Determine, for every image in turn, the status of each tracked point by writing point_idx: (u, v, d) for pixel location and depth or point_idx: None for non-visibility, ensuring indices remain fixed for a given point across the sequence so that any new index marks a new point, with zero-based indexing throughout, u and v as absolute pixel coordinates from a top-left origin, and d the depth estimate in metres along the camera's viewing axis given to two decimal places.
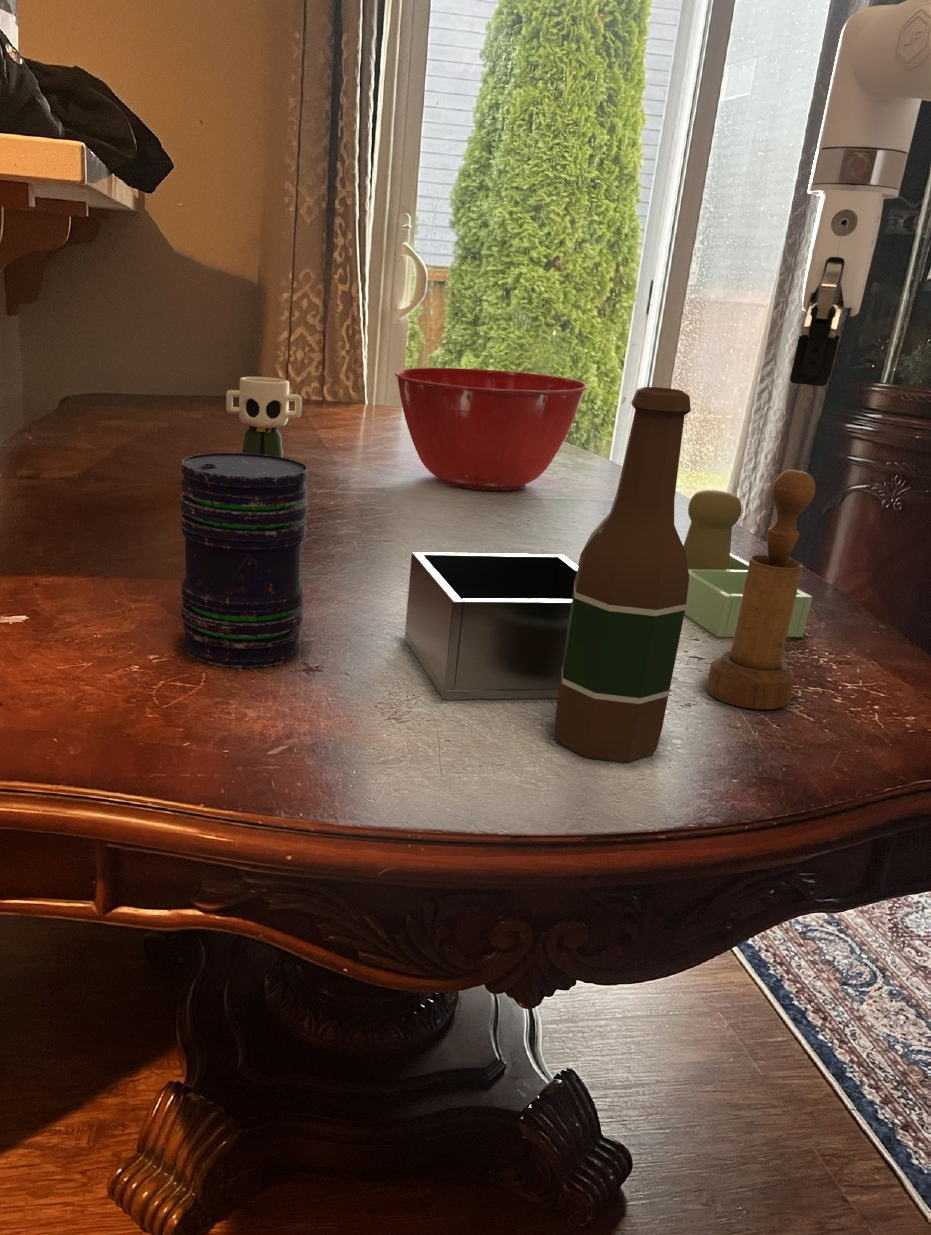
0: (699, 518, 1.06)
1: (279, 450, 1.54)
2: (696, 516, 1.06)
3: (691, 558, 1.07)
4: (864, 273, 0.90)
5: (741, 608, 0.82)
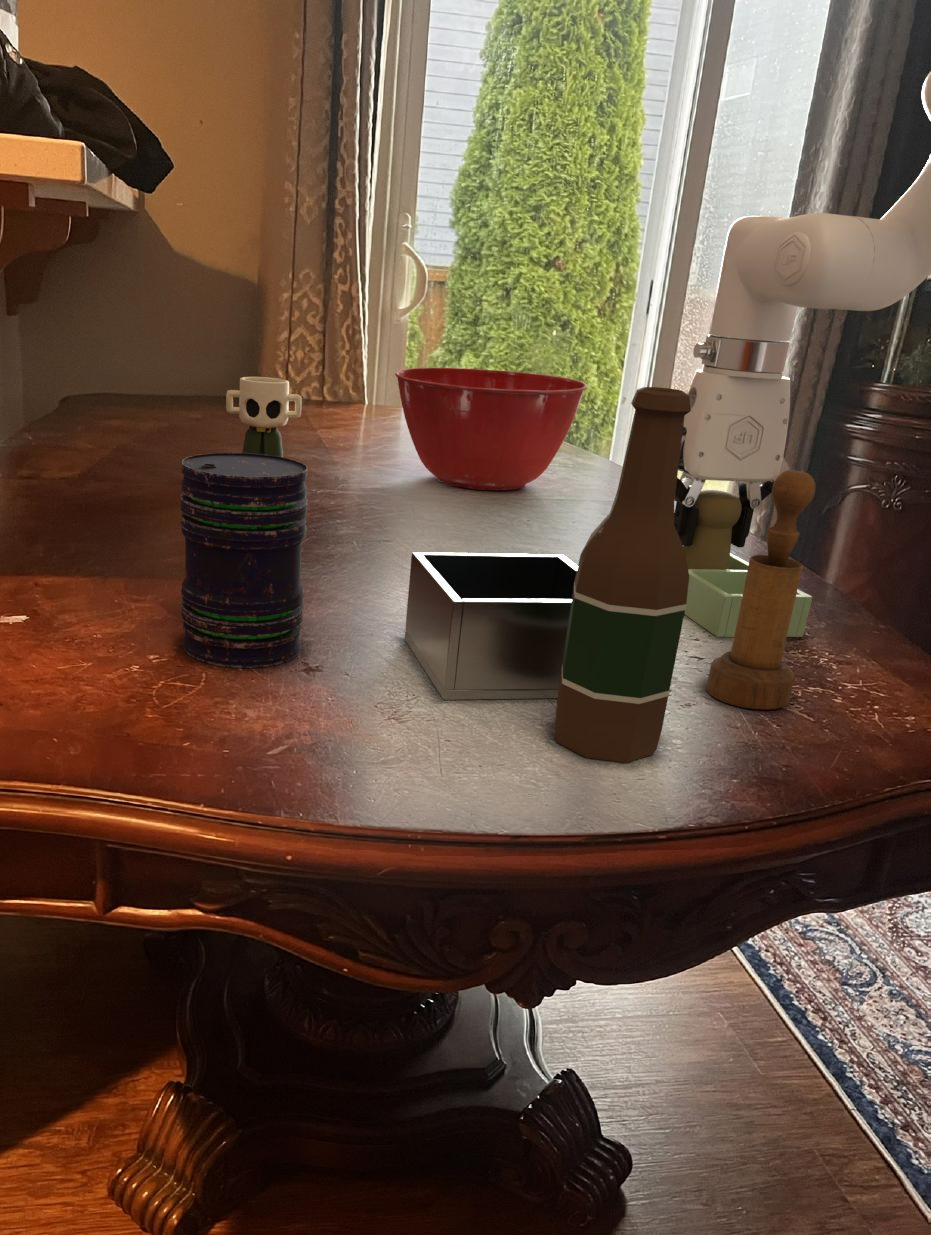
0: (699, 518, 1.06)
1: (279, 450, 1.54)
2: None
3: (691, 558, 1.07)
4: (697, 442, 1.01)
5: (741, 608, 0.82)
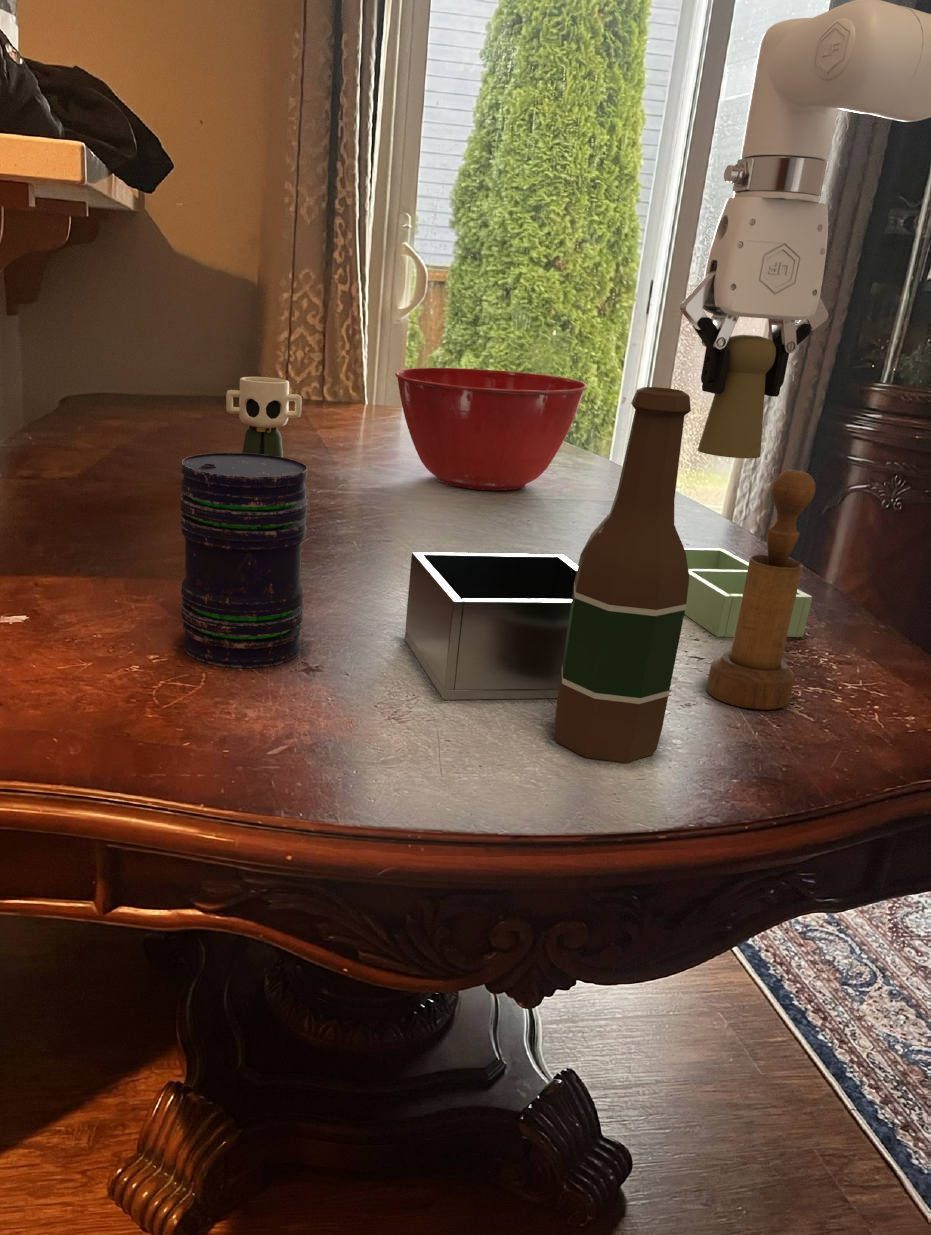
0: (731, 363, 0.99)
1: (279, 450, 1.54)
2: None
3: (722, 408, 1.01)
4: (729, 273, 0.94)
5: (741, 608, 0.82)
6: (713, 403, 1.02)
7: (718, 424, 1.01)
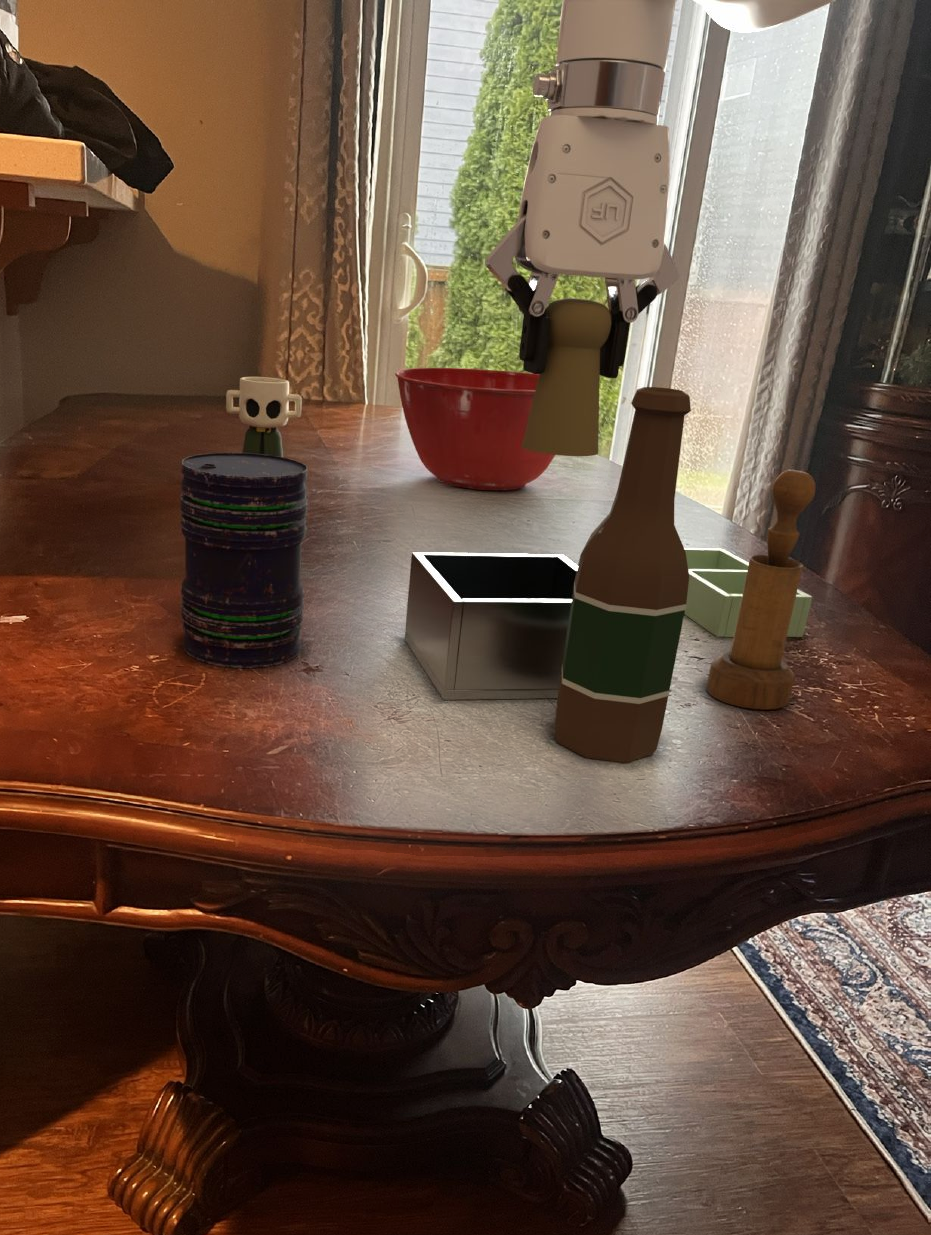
0: (553, 334, 0.78)
1: (279, 450, 1.54)
2: None
3: (545, 392, 0.79)
4: (540, 217, 0.73)
5: (741, 608, 0.82)
6: (536, 386, 0.81)
7: (541, 413, 0.80)
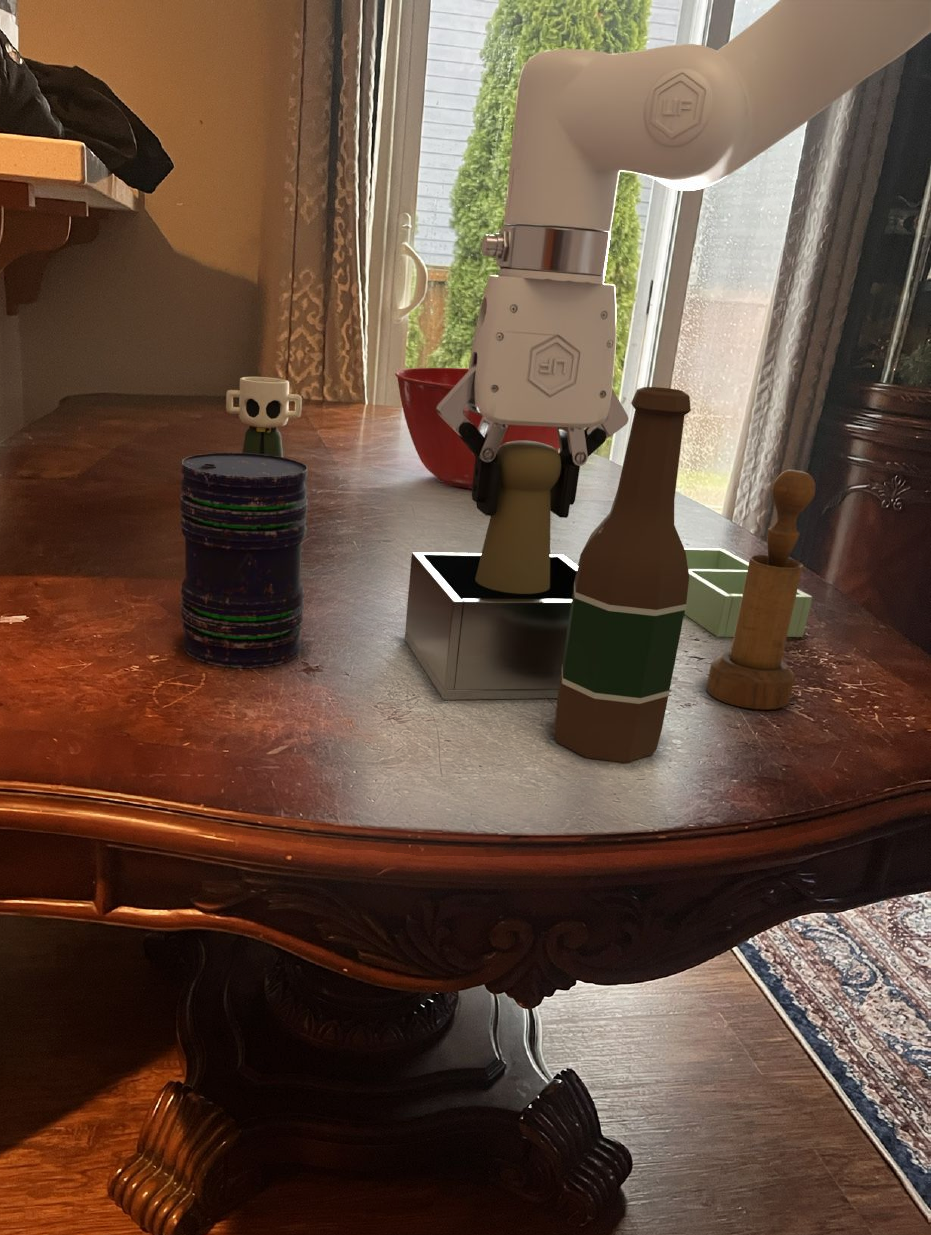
0: (503, 478, 0.79)
1: (279, 450, 1.54)
2: None
3: (497, 531, 0.81)
4: (489, 372, 0.74)
5: (741, 608, 0.82)
6: (489, 523, 0.82)
7: (493, 551, 0.81)
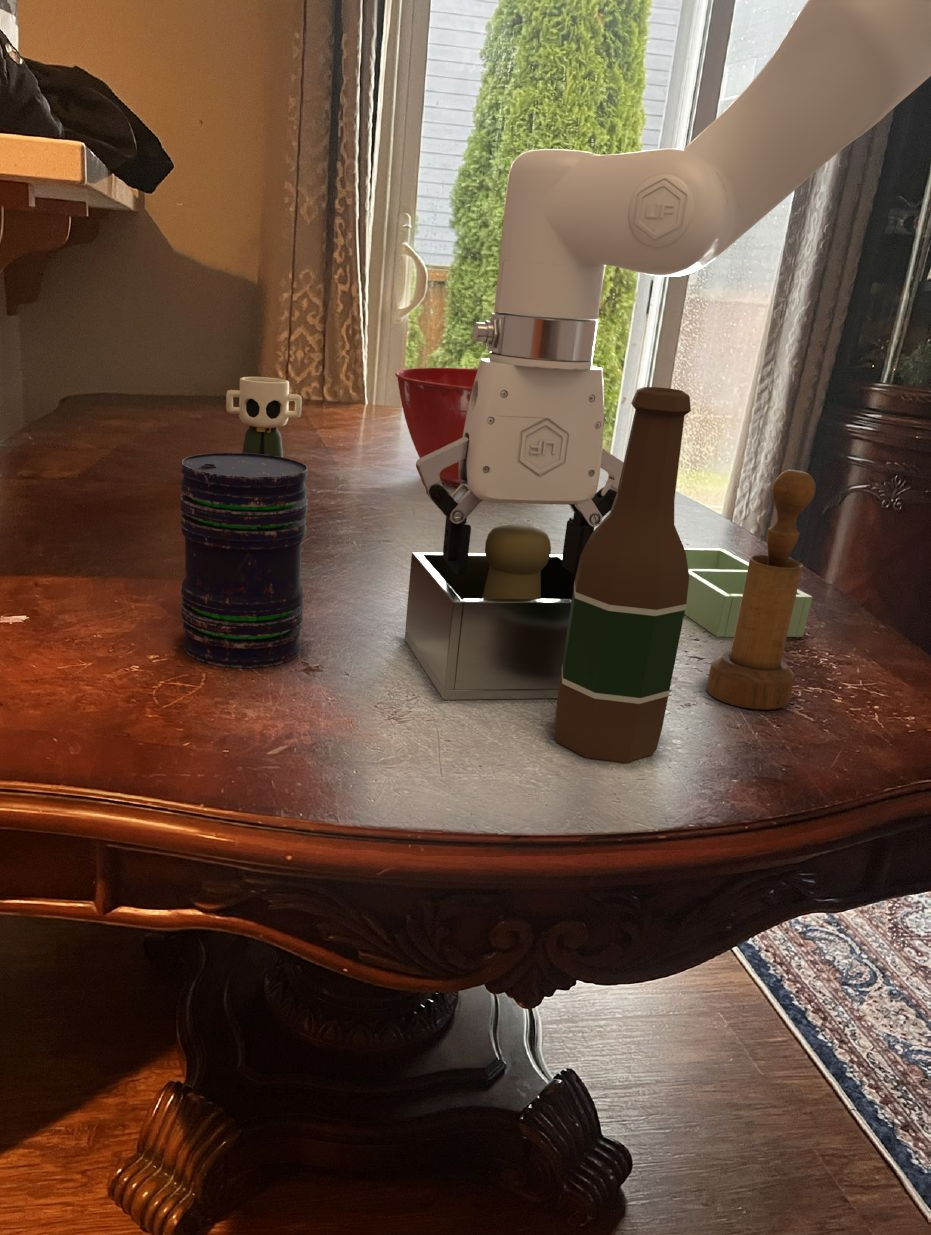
0: (495, 561, 0.82)
1: (279, 450, 1.54)
2: (491, 557, 0.82)
3: None
4: (480, 454, 0.76)
5: (741, 608, 0.82)
6: None
7: None
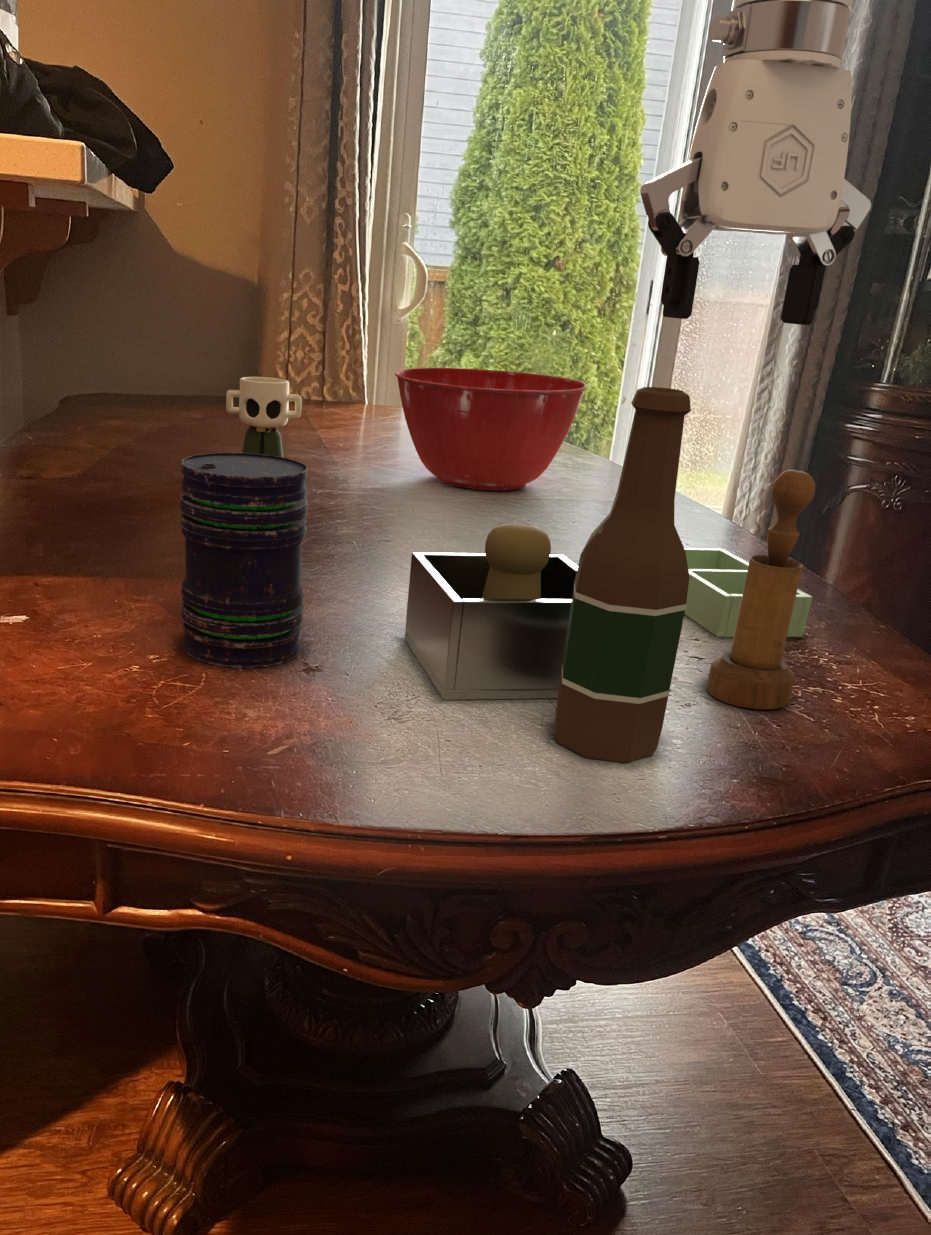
0: (495, 561, 0.82)
1: (279, 450, 1.54)
2: (491, 557, 0.82)
3: None
4: (719, 167, 0.70)
5: (741, 608, 0.82)
6: None
7: None
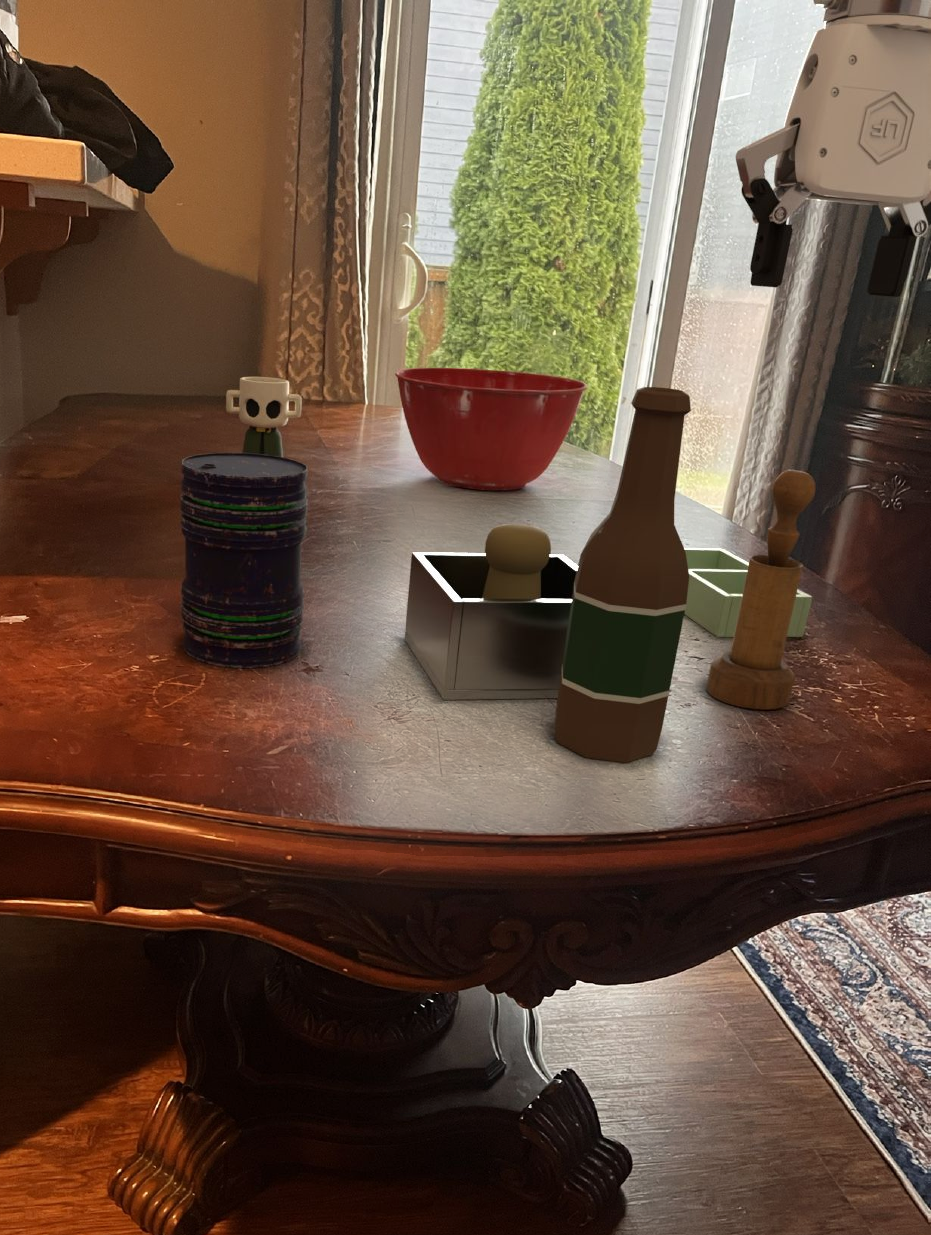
0: (495, 561, 0.82)
1: (279, 450, 1.54)
2: (491, 557, 0.82)
3: None
4: (819, 133, 0.69)
5: (741, 608, 0.82)
6: None
7: None
